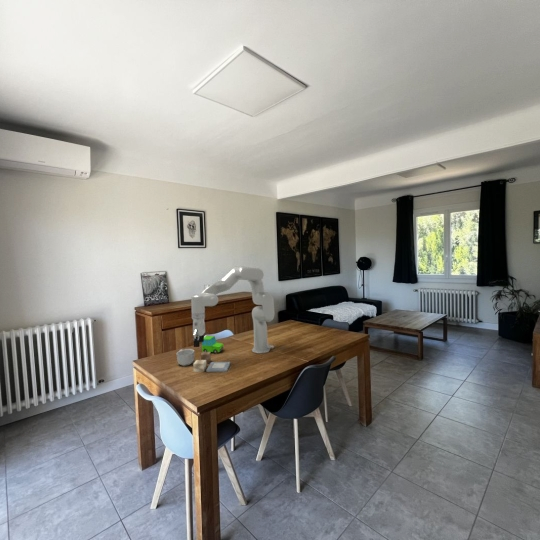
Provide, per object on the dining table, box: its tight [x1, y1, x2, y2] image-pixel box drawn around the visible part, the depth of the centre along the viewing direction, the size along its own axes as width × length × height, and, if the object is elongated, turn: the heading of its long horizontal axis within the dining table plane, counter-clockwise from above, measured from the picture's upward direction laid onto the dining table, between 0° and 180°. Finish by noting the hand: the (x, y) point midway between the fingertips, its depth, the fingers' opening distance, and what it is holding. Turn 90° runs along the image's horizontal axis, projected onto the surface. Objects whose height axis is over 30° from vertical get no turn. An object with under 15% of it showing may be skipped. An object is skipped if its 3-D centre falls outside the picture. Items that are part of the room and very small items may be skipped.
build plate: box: [205, 361, 231, 373], centre depth 170 cm, size 12×12×1 cm
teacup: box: [175, 348, 196, 367], centre depth 178 cm, size 14×11×8 cm
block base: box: [193, 359, 207, 373], centre depth 167 cm, size 6×6×5 cm
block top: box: [200, 351, 212, 365], centre depth 179 cm, size 5×5×6 cm
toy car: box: [201, 335, 225, 355], centre depth 200 cm, size 10×13×10 cm
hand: (198, 344), depth 166 cm, fingers open, 9 cm apart
